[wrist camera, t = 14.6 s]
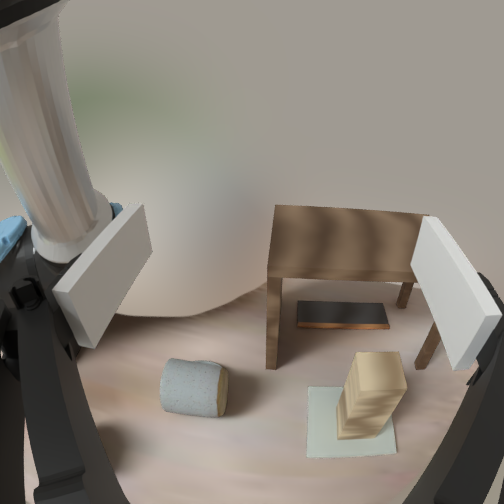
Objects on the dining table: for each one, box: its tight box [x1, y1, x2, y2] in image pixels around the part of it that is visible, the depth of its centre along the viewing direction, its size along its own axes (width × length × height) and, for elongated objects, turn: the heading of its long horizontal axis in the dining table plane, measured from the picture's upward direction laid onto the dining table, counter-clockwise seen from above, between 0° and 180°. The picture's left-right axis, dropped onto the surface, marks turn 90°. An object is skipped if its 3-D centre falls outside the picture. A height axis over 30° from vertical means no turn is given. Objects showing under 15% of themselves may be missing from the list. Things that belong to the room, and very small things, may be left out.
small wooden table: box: [266, 205, 441, 370], centre depth 45 cm, size 25×16×18 cm, turn 83°
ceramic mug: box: [160, 358, 229, 417], centre depth 39 cm, size 10×8×7 cm
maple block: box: [336, 352, 407, 440], centre depth 32 cm, size 5×5×12 cm
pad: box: [306, 386, 397, 458], centre depth 36 cm, size 12×11×1 cm
